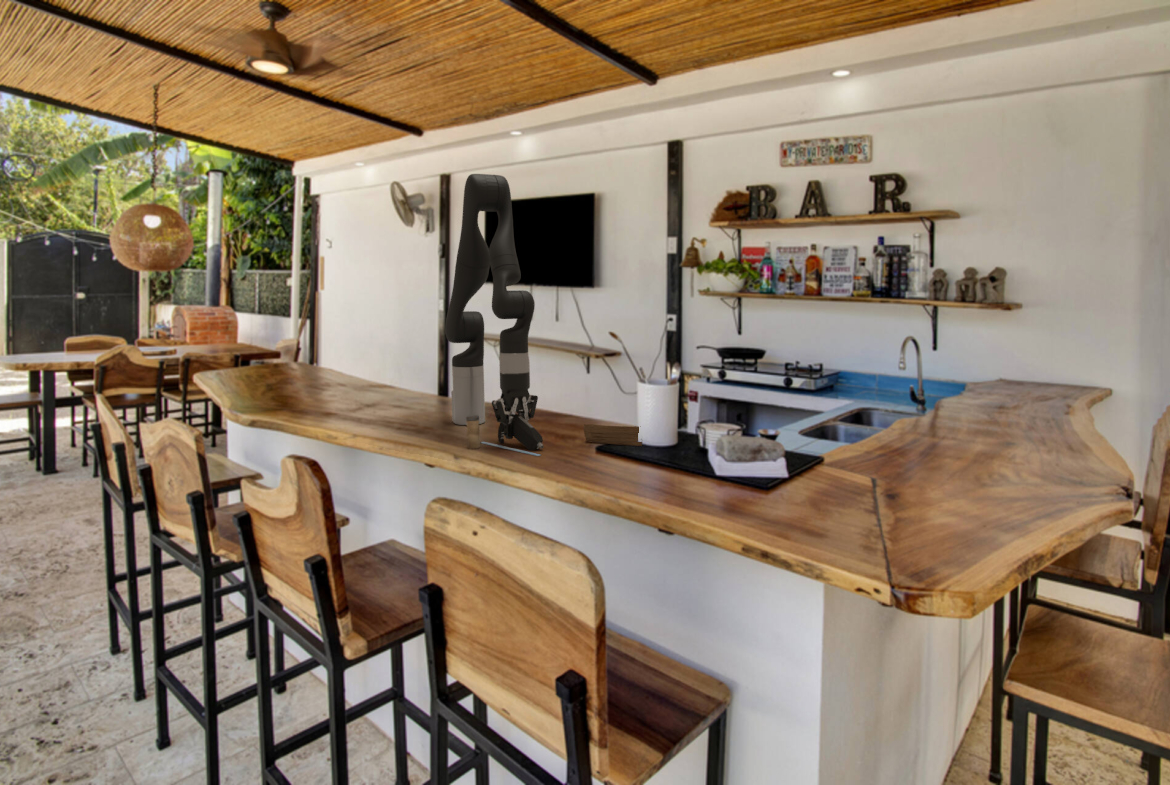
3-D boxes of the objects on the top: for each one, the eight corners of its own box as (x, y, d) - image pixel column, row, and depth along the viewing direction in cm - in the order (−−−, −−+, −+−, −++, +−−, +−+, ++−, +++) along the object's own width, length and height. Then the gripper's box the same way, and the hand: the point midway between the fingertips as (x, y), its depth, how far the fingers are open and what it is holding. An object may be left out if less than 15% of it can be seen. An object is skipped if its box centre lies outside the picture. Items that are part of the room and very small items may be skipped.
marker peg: (464, 447, 174) (463, 416, 173) (474, 445, 176) (473, 414, 175) (472, 449, 172) (471, 417, 171) (482, 447, 174) (481, 416, 173)
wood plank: (643, 445, 176) (643, 425, 175) (641, 446, 174) (641, 427, 173) (585, 441, 181) (585, 422, 180) (583, 443, 179) (583, 424, 178)
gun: (528, 471, 172) (541, 439, 168) (488, 435, 180) (500, 403, 176) (536, 469, 174) (549, 437, 170) (496, 433, 182) (508, 402, 178)
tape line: (480, 442, 179) (480, 442, 179) (483, 442, 180) (483, 441, 180) (537, 456, 164) (537, 455, 164) (540, 455, 165) (540, 454, 165)
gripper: (525, 367, 181) (527, 431, 184) (482, 371, 171) (484, 439, 174) (545, 369, 176) (546, 435, 179) (502, 374, 166) (504, 443, 168)
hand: (516, 436), depth 176 cm, fingers open, 4 cm apart
